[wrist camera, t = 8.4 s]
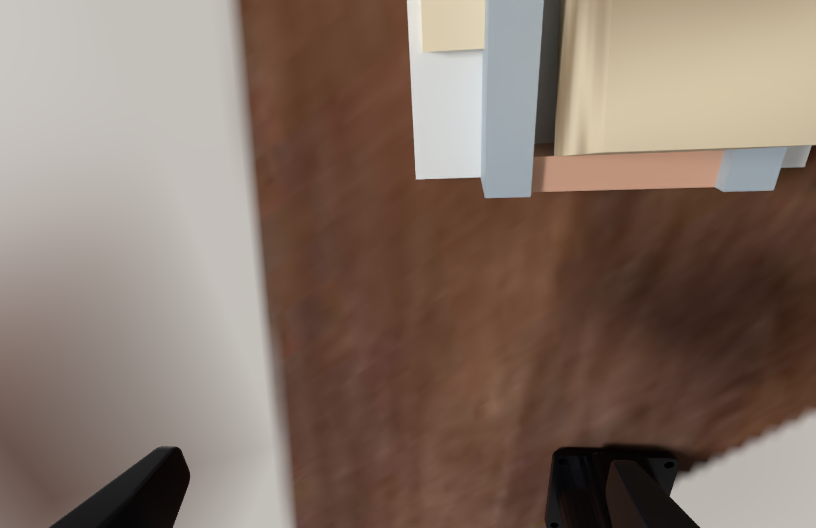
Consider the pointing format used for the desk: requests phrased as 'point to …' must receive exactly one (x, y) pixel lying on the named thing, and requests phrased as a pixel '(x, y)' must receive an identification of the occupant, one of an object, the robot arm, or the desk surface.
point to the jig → (533, 111)
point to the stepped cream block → (684, 75)
